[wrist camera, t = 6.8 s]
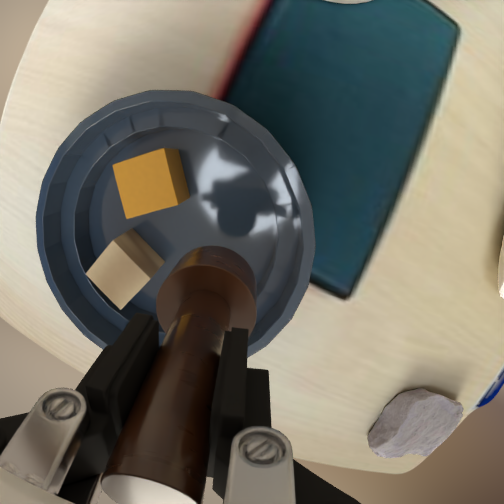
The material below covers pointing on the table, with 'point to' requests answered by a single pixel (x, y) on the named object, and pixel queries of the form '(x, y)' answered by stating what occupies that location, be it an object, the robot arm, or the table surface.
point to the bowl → (175, 208)
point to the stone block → (414, 424)
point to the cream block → (124, 267)
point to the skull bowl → (501, 271)
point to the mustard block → (151, 182)
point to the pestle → (181, 381)
